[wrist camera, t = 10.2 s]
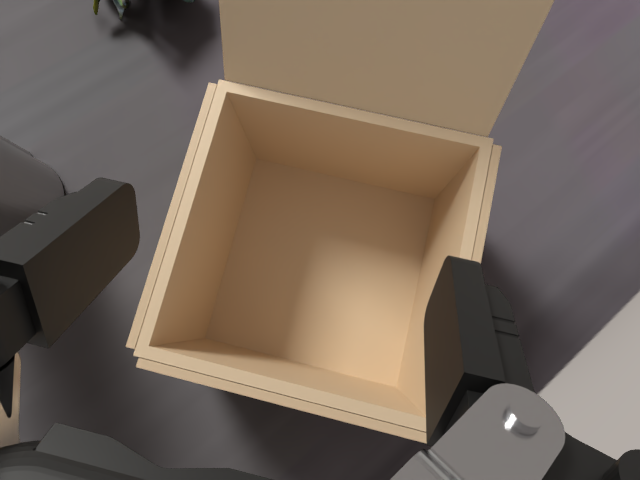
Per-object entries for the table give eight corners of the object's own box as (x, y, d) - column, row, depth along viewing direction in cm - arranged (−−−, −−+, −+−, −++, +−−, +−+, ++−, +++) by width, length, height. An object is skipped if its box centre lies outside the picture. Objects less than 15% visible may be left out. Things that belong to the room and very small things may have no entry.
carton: (407, 405, 41) (447, 448, 27) (188, 349, 42) (120, 363, 28) (448, 197, 44) (502, 140, 30) (246, 151, 45) (210, 77, 32)
